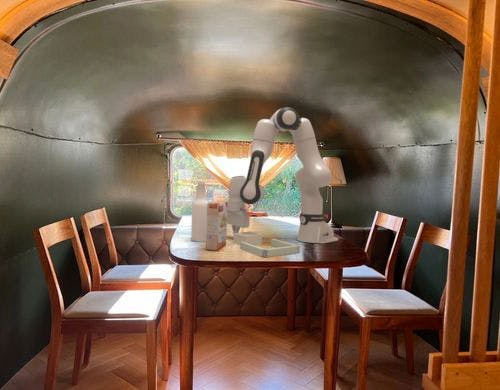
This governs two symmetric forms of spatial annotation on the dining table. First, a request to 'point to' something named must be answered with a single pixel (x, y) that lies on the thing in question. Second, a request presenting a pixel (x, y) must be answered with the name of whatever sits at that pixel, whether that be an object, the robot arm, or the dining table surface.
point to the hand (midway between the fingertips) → (235, 234)
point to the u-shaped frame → (282, 250)
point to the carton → (248, 238)
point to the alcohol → (199, 214)
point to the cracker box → (216, 225)
